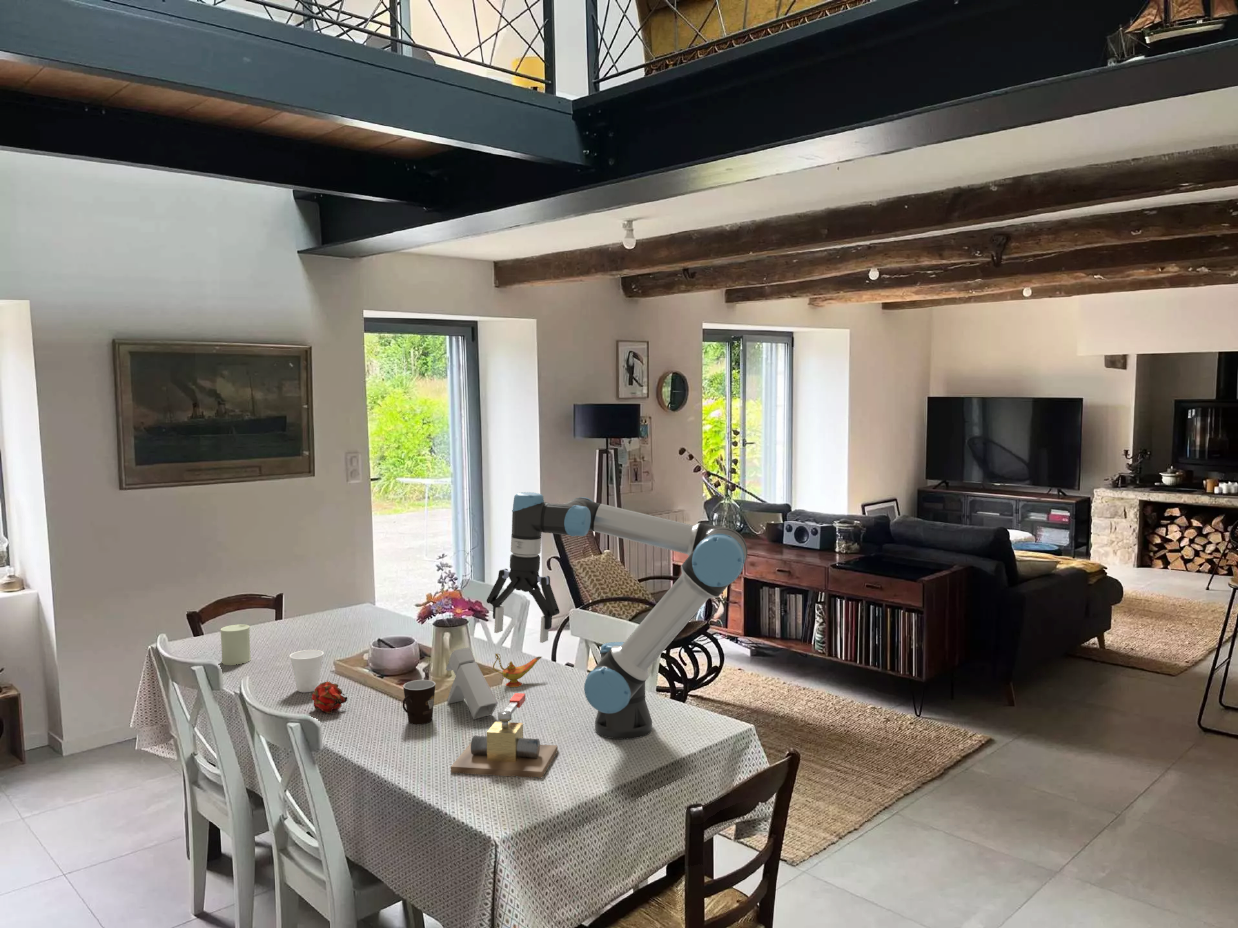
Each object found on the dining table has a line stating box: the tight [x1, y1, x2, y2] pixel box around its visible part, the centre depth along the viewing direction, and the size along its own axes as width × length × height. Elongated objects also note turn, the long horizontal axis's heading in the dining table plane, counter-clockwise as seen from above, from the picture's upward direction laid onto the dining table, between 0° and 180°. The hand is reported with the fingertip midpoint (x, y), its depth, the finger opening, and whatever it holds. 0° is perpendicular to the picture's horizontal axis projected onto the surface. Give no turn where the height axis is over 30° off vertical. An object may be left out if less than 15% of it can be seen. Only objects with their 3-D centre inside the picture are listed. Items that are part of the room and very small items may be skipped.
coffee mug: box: [402, 679, 437, 726], centre depth 248 cm, size 12×9×10 cm
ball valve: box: [470, 721, 541, 762], centre depth 220 cm, size 16×7×9 cm, turn 81°
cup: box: [288, 649, 325, 693], centre depth 276 cm, size 10×10×11 cm
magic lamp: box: [492, 653, 543, 688], centre depth 280 cm, size 7×18×11 cm, turn 130°
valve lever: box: [497, 692, 526, 722], centre depth 226 cm, size 16×3×2 cm, turn 171°
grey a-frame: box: [445, 647, 498, 720], centre depth 258 cm, size 6×16×20 cm
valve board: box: [450, 742, 558, 779], centre depth 220 cm, size 22×16×2 cm
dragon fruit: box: [310, 681, 348, 714], centre depth 258 cm, size 8×8×12 cm
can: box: [219, 623, 252, 666], centre depth 307 cm, size 9×9×12 cm
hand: (520, 636), depth 231 cm, fingers open, 13 cm apart
